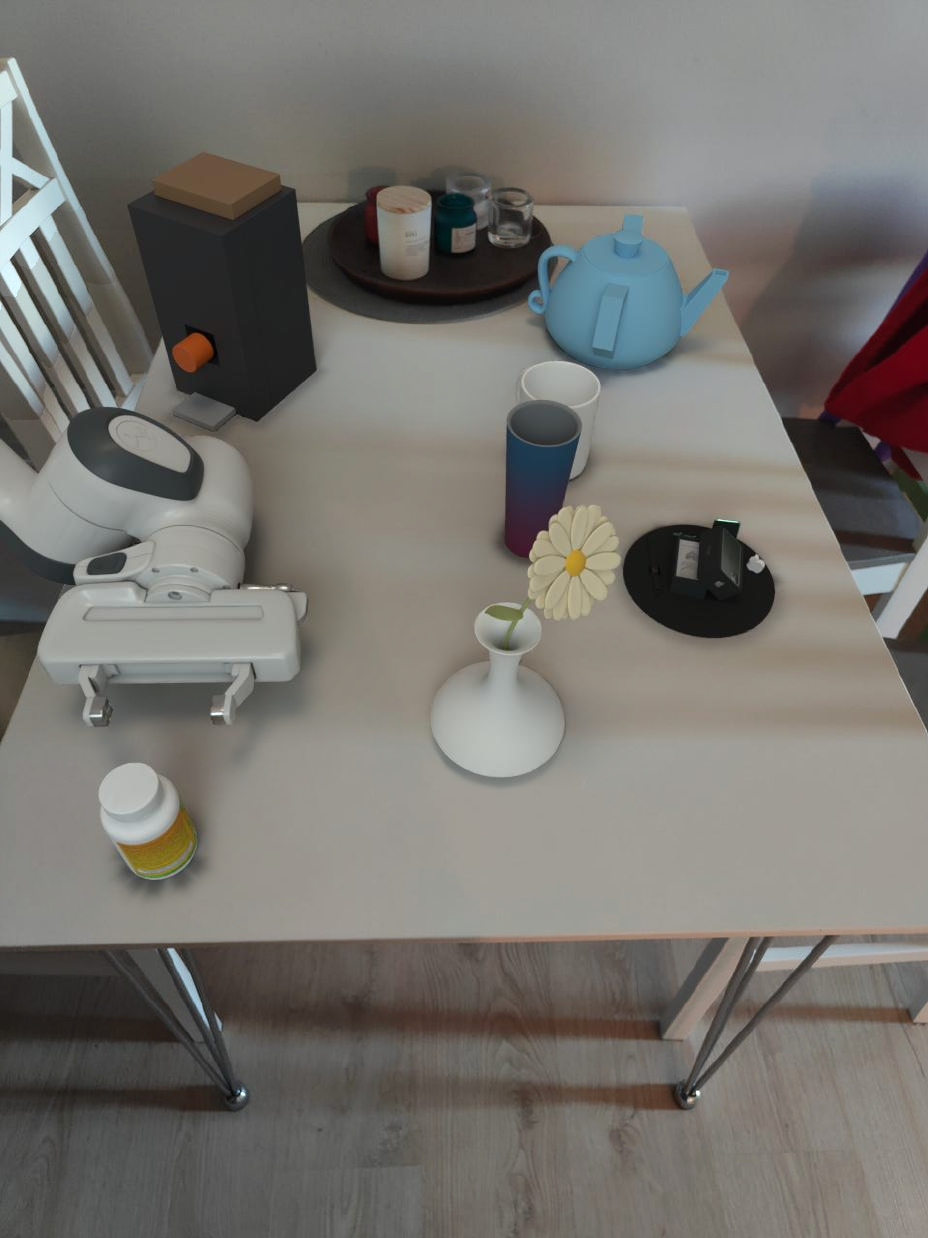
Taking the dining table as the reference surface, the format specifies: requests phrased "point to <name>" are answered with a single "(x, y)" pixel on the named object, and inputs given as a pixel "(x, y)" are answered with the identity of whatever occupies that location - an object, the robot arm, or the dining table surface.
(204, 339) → the power button
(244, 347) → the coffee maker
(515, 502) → the cup
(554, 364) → the mug
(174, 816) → the supplement bottle
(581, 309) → the teapot
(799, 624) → the dining table surface
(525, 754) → the flower in vase
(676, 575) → the black round display stand
